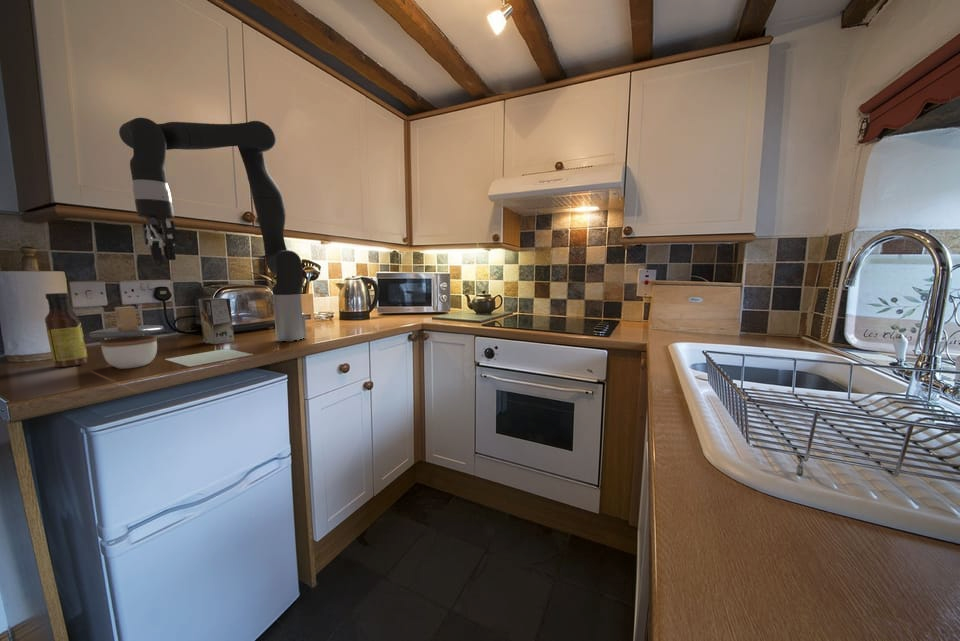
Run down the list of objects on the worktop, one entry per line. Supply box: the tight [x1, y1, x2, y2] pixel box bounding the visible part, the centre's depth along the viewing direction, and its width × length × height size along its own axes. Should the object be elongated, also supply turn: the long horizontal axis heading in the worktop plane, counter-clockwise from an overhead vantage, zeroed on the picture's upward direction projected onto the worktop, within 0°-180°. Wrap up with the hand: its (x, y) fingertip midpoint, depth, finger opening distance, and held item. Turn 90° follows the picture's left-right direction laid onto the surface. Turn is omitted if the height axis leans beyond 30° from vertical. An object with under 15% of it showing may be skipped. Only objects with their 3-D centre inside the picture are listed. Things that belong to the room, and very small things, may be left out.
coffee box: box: [198, 297, 235, 345], centre depth 126 cm, size 9×6×16 cm
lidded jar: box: [99, 334, 158, 369], centre depth 94 cm, size 11×11×9 cm
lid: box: [88, 305, 165, 339], centre depth 92 cm, size 14×14×7 cm
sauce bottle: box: [44, 292, 88, 368], centre depth 94 cm, size 7×6×20 cm
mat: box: [164, 348, 254, 367], centre depth 104 cm, size 16×16×1 cm
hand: (164, 260), depth 97 cm, fingers open, 8 cm apart
